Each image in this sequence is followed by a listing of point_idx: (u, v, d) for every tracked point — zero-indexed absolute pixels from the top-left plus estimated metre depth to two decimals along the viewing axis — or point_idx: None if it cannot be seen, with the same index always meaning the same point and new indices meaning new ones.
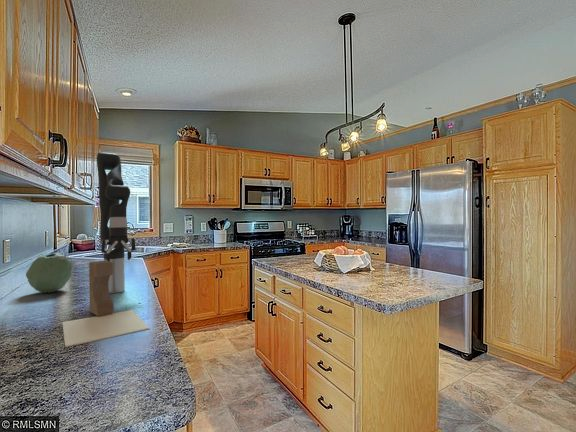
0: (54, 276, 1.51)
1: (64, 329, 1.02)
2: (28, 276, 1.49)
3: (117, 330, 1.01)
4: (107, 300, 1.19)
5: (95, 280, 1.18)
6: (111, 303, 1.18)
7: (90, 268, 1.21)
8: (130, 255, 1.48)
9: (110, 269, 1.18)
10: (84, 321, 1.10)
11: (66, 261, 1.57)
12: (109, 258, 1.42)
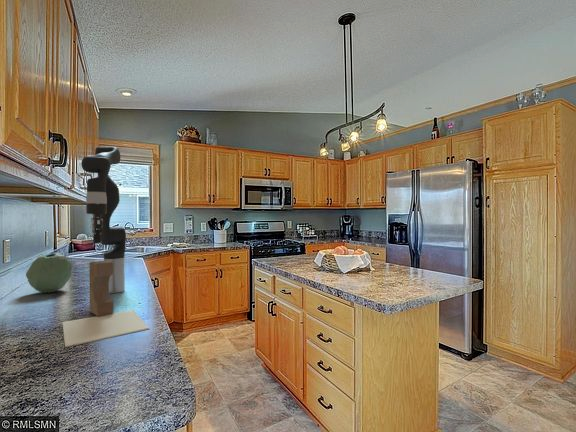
0: (54, 276, 1.51)
1: (64, 329, 1.02)
2: (28, 276, 1.49)
3: (117, 330, 1.01)
4: (107, 300, 1.19)
5: (95, 280, 1.18)
6: (111, 303, 1.18)
7: (90, 268, 1.21)
8: None
9: (110, 269, 1.18)
10: (84, 321, 1.10)
11: (66, 261, 1.57)
12: (100, 239, 1.31)
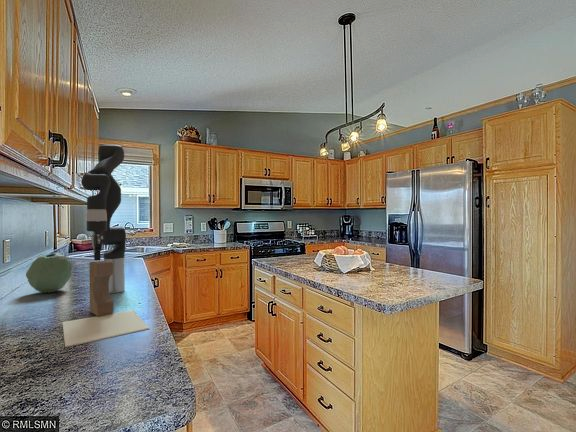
0: (54, 276, 1.51)
1: (64, 329, 1.02)
2: (28, 276, 1.49)
3: (117, 330, 1.01)
4: (107, 300, 1.19)
5: (95, 280, 1.18)
6: (111, 303, 1.18)
7: (90, 268, 1.21)
8: None
9: (110, 269, 1.18)
10: (84, 321, 1.10)
11: (66, 261, 1.57)
12: (100, 256, 1.32)
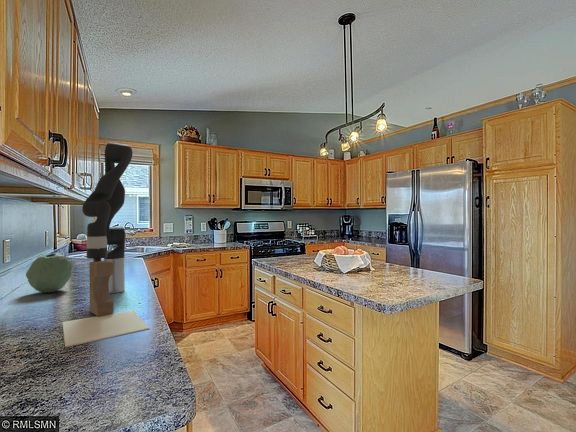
0: (54, 276, 1.51)
1: (64, 329, 1.02)
2: (28, 276, 1.49)
3: (117, 330, 1.01)
4: (107, 300, 1.19)
5: (95, 280, 1.18)
6: (111, 303, 1.18)
7: (90, 268, 1.21)
8: None
9: (110, 269, 1.18)
10: (84, 321, 1.10)
11: (66, 261, 1.57)
12: None
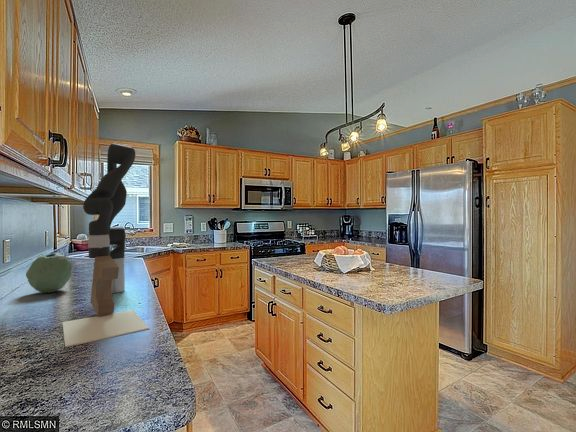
0: (54, 276, 1.51)
1: (64, 329, 1.02)
2: (28, 276, 1.49)
3: (117, 330, 1.01)
4: (109, 299, 1.17)
5: (99, 280, 1.15)
6: (112, 305, 1.17)
7: (95, 264, 1.16)
8: None
9: (116, 274, 1.14)
10: (84, 321, 1.10)
11: (66, 261, 1.57)
12: None
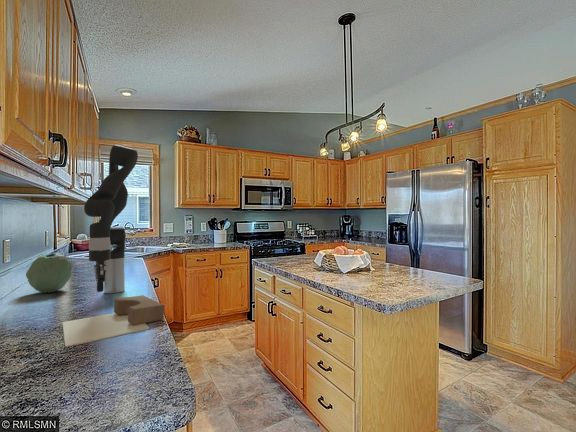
0: (54, 276, 1.51)
1: (64, 329, 1.02)
2: (28, 276, 1.49)
3: (117, 330, 1.01)
4: (124, 310, 1.16)
5: None
6: (117, 313, 1.15)
7: (156, 304, 1.13)
8: None
9: (129, 321, 1.06)
10: (84, 321, 1.10)
11: (66, 261, 1.57)
12: (103, 287, 1.24)
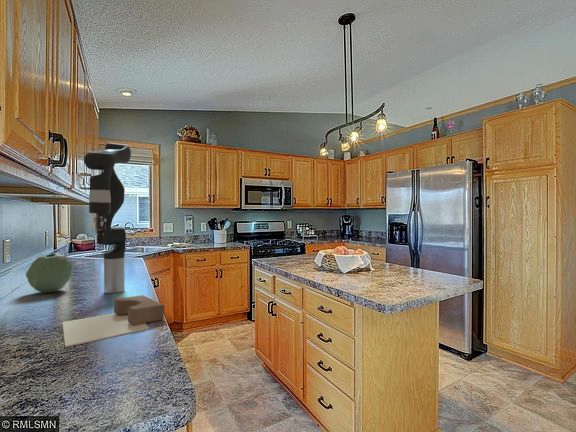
0: (54, 276, 1.51)
1: (64, 329, 1.02)
2: (28, 276, 1.49)
3: (117, 330, 1.01)
4: (124, 311, 1.16)
5: None
6: (117, 313, 1.15)
7: (156, 304, 1.13)
8: None
9: (129, 321, 1.06)
10: (84, 321, 1.10)
11: (66, 261, 1.57)
12: (103, 240, 1.24)
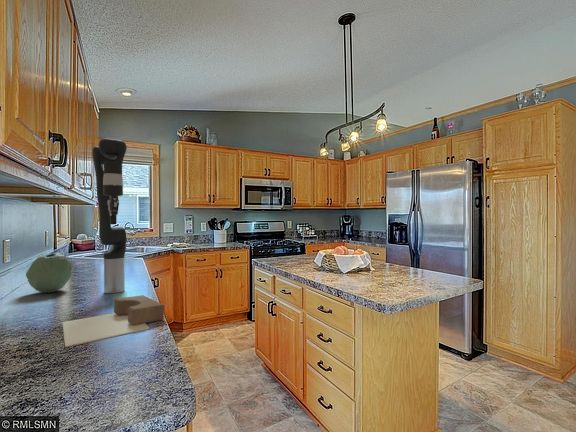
0: (54, 276, 1.51)
1: (64, 329, 1.02)
2: (28, 276, 1.49)
3: (117, 330, 1.01)
4: (124, 311, 1.16)
5: None
6: (117, 313, 1.15)
7: (156, 304, 1.13)
8: None
9: (129, 321, 1.06)
10: (84, 321, 1.10)
11: (66, 261, 1.57)
12: None
